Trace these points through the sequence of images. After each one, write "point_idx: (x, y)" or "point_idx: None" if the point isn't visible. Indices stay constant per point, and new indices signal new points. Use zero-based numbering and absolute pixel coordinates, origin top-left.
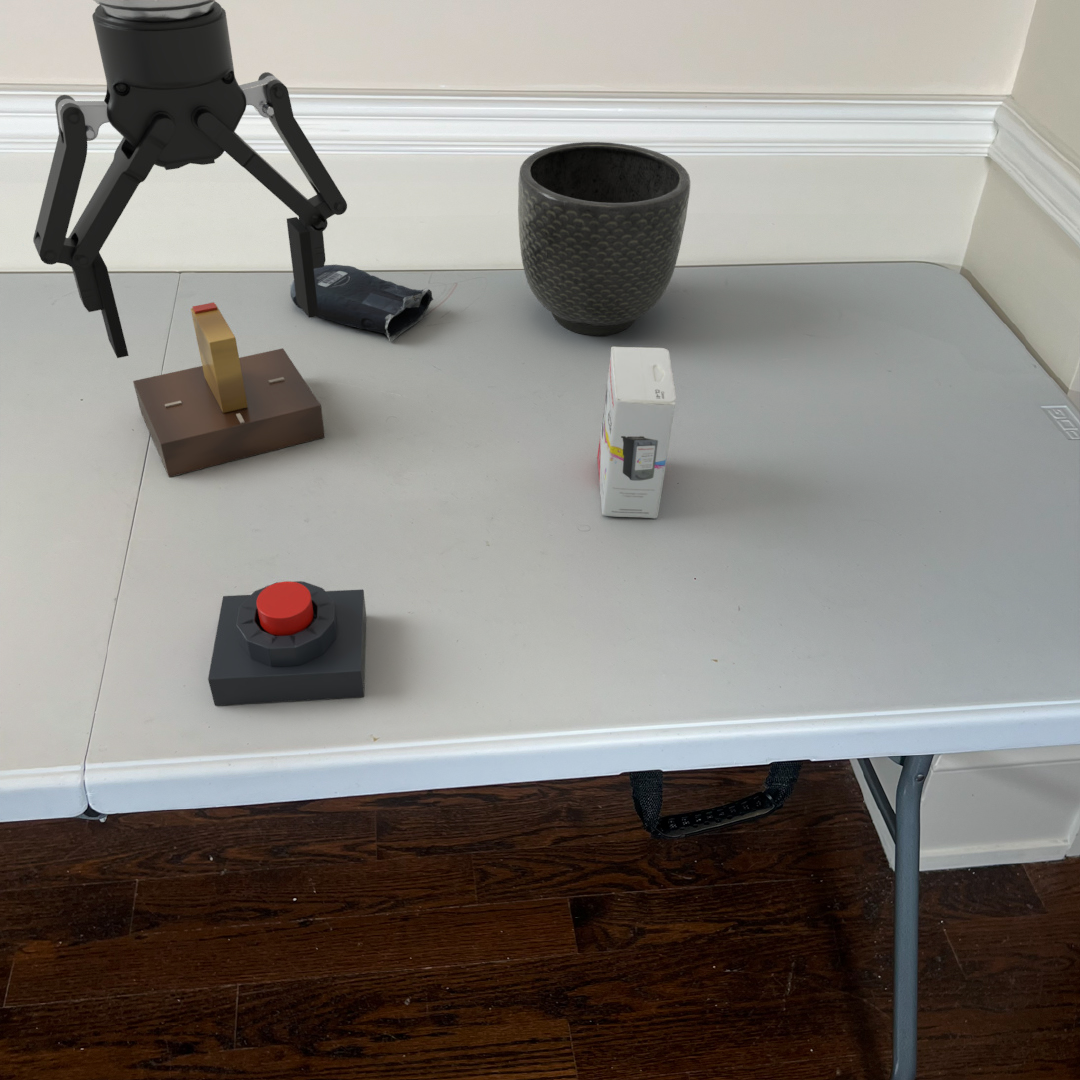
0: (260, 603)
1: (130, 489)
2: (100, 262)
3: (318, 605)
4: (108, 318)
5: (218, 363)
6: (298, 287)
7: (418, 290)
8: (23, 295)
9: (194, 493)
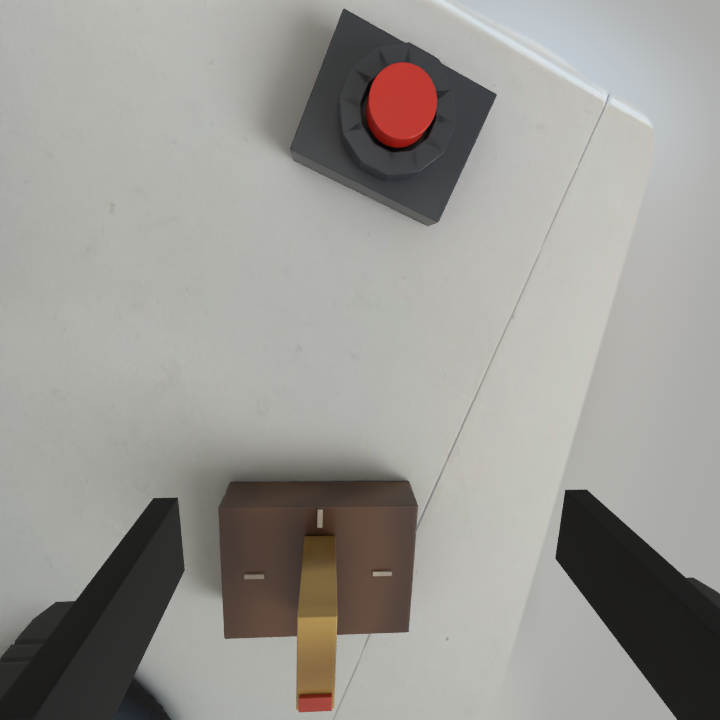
0: (431, 109)
1: (448, 477)
2: None
3: (358, 104)
4: (650, 547)
5: (329, 587)
6: (162, 582)
7: None
8: None
9: (393, 444)
